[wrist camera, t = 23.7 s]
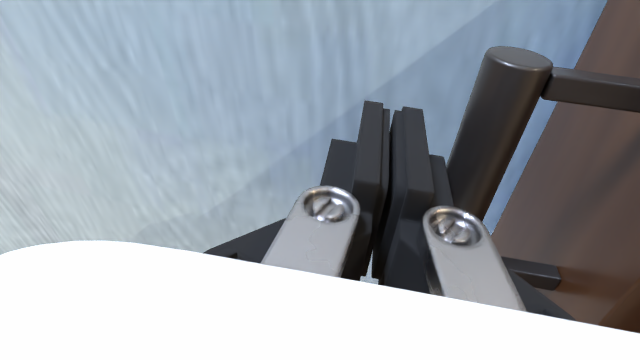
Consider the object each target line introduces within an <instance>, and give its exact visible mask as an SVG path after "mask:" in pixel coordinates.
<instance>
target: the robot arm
mask: <svg viewBox="0 0 640 360" xmlns="http://www.w3.org/2000/svg"><path fill="white" fill-rule="evenodd" d="M389 124H390V109H384V108H383V103H378V102H371V101H365V102H364V107H363V113H362V118H361V124H360V130H359V135H358V141H357V143H355V142H349V141H342V140H336V139H332V140H331V144H330V148H329V152H328V156H327V160H326V164H325V168H324V172H323V176H322V180H321V184H320V186H316V187H312V188H309V189H307V190H306V191H304V192H303V193H302V194H301V195H300V196H299V197H298V199H297V201H296V202H295V204H294V206H293V208H292V209H291V211H290V213H289V215H288V216H287V218H285V219H282V220H280V221H277V222H275V223H273V224H270V225H268V226H265V227H263V228H260V229H258V230H255V231H253V232H251V233H248V234H246V235H243V236H241V237H238V238H236V239H233V240H231V241H229V242H226V243H224V244H221V245H219V246H216V247H214V248H211V249H209V250H207V251H206V252H204V253H198V252H192V251H186V250H179V249H172V248H166V247H159V246H152V245H145V244H138V243H130V242H116V241H69V242H60V243H52V244H43V245H37V246H32V247H27V248H23V249H19V250H15V251H11V252H8V253H5V254H3V255H0V360H640V333H635V332H630V331H625V330H619V329H614V328H609V327H603V326H598V325H593V324H587V323H582V322H578V321H576V320H575V319H574V318H573V317H572V316H571V315H570V314H568V313H567V312H566V311H565V310H563V309H562V308H561V307H559V306H558V305H557V304H555V303H554V302H553V301H551V300H550V299H549V298H547V297H546V296H545V295H543V294H542V293H541V292H539V291H538V290H537V289H535V288H534V287H533V286H531V285H530V284H529V283H527V282H526V281H525V280H523V279H522V278H521V277H519V276H518V275H517V274H515V273H514V272H513V271H511V270H510V269H509V268H507V267H506V266H505V265H504V263H503V261H502V259H501V257H500V254H499V252H498V250H497V248H496V246H495V244H494V242H493V240H492V238H491V236H490V234H489V232H488V230H487V228H486V227H485V225H484V224H483V223H482V222H481V221H480V220H479V219H478V218H477V217H476V216H474V215H473V214H471V213H469V212H467V211H465V210H463V209H460V208H457V207H454V205H453V200H452V195H451V190H450V185H449V180H448V175H447V170H446V165H445V160H444V157H442V156H436V155H430V154H429V151H428V144H427V137H426V130H425V123H424V116H423V110H422V109H417V108H410V107H403V108H402V111H397V110H395V112H394V116H393V120H392V124H391V128H390V133H389ZM372 250H373V257H372V278H376V279H379V281H378V285H377V284H371V283H366V282H360V277H361V276H366V274H367V270H368V266H369V262H370V258H371V254H372Z"/></svg>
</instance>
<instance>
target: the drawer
mask: <svg viewBox="0 0 640 360" xmlns="http://www.w3.org/2000/svg"><path fill="white" fill-rule="evenodd" d="M540 96H541V98H542V99H544V100H551V101H558V102H557V104H556V106H555V108H554V110H553V113H552V115H551V117H550V119H549V121H548V123H547V125H546V127H545V129H544V131H543V133H542V135H541V137H540V139H539V141H538V143H537V145H536V147H535V149H534V151H533V153H532V155H531V157H530V159H529V161H528V163H527V165H526V167H525V169H524V171H523V173H522V175H521V177H520V179H519V181H518V183H517V185H516V187H515V189H514V191H513V193H512V195H511V197H510V199H509V201H508V203H507V205H506V207H505V209H504V211H503V213H502V215H501V217H500V219H499V221H498V223H497V225H496V228H495V230H494V232H493V234H492V236H491V238H492V240H493V242H494V244H495V246H496V248H497V250H498V252H499V254H500V257H501V259H502V261H503V263H504V265H505V266H506V267H507V268H509V269H510V270H511V271H513V272H514V273H515V274H517V275H518V276H519V277H521V278H522V279H523V280H525V281H526V282H527V283H529V284H530V285H531V286H533V287H534V288H535V289H537V290H538V291H539V292H541V293H542V294H543V295H545V296H546V297H547V298H549V299H550V300H551V301H553V302H554V303H555V304H557V305H558V306H559V307H561V308H562V309H563V310H565V311H566V312H567V313H568V314H570V315H571V316H572V317H573V318H574V319H575V320H576V321H578V322H582V323H587V324H593V325H598V326H603V327H609V328H614V329H619V330H625V331H630V332H635V333H640V0H608V2H607V4H606V6H605V8H604V10H603V12H602V14H601V16H600V18H599V20H598V22H597V24H596V26H595V28H594V30H593V32H592V34H591V36H590V38H589V40H588V42H587V44H586V46H585V48H584V50H583V52H582V54H581V56H580V58H579V60H578V62H577V64H576V66H575V68H574V70H573V69H566V68H559V67H553V64H552V62H551V61H550V60H549V59H547V58H546V57H544V56H542V55H540V54H538V53H535V52H532V51H529V50H525V49H521V48H515V47H505V46H500V47H492V48H490V49H488V50H487V51H486V53H485V55H484V58H483V61H482V64H481V67H480V70H479V73H478V76H477V79H476V81H475V84H474V87H473V90H472V93H471V96H470V99H469V102H468V105H467V108H466V110H465V113H464V116H463V119H462V122H461V125H460V128H459V131H458V134H457V137H456V139H455V142H454V145H453V148H452V151H451V154H450V157H449V160H448V163H447V165H446V170H447V175H448V180H449V185H450V190H451V195H452V200H453V205H454V207H457V208H460V209H463V210H465V211H467V212H469V213H471V214H473V215H474V216H476V217H477V218H478V219H479V220H480V221H481V222H482V221H483V219H484V216H485V214H486V212H487V210H488V208H489V206H490V203H491V201H492V199H493V197H494V195H495V193H496V190H497V188H498V186H499V184H500V182H501V180H502V177H503V175H504V173H505V171H506V169H507V167H508V164H509V162H510V160H511V158H512V156H513V154H514V151H515V149H516V147H517V145H518V143H519V141H520V138H521V136H522V134H523V132H524V130H525V128H526V125H527V123H528V121H529V119H530V117H531V115H532V112H533V110H534V108H535V106H536V104H537V102H538V99H539V97H540Z"/></svg>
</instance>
